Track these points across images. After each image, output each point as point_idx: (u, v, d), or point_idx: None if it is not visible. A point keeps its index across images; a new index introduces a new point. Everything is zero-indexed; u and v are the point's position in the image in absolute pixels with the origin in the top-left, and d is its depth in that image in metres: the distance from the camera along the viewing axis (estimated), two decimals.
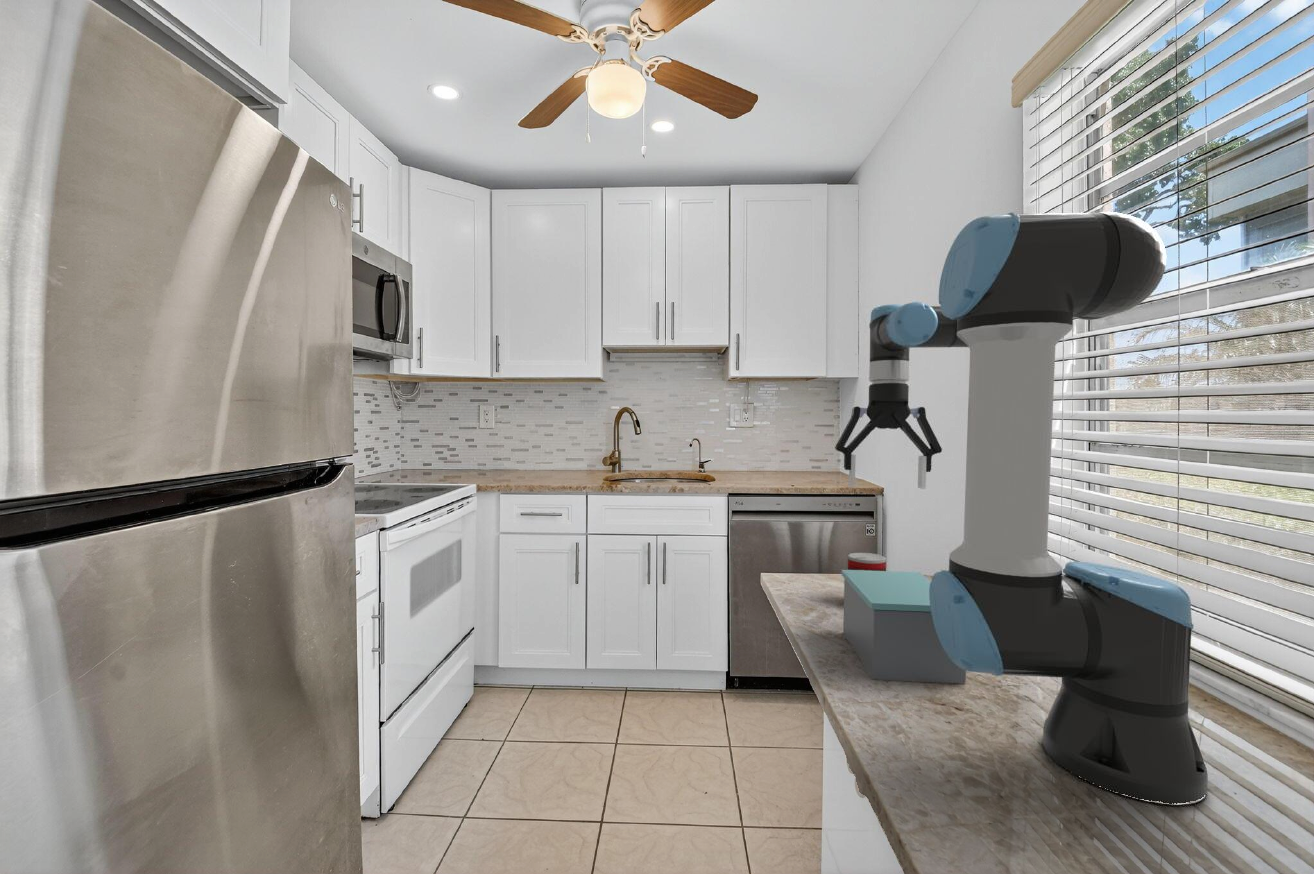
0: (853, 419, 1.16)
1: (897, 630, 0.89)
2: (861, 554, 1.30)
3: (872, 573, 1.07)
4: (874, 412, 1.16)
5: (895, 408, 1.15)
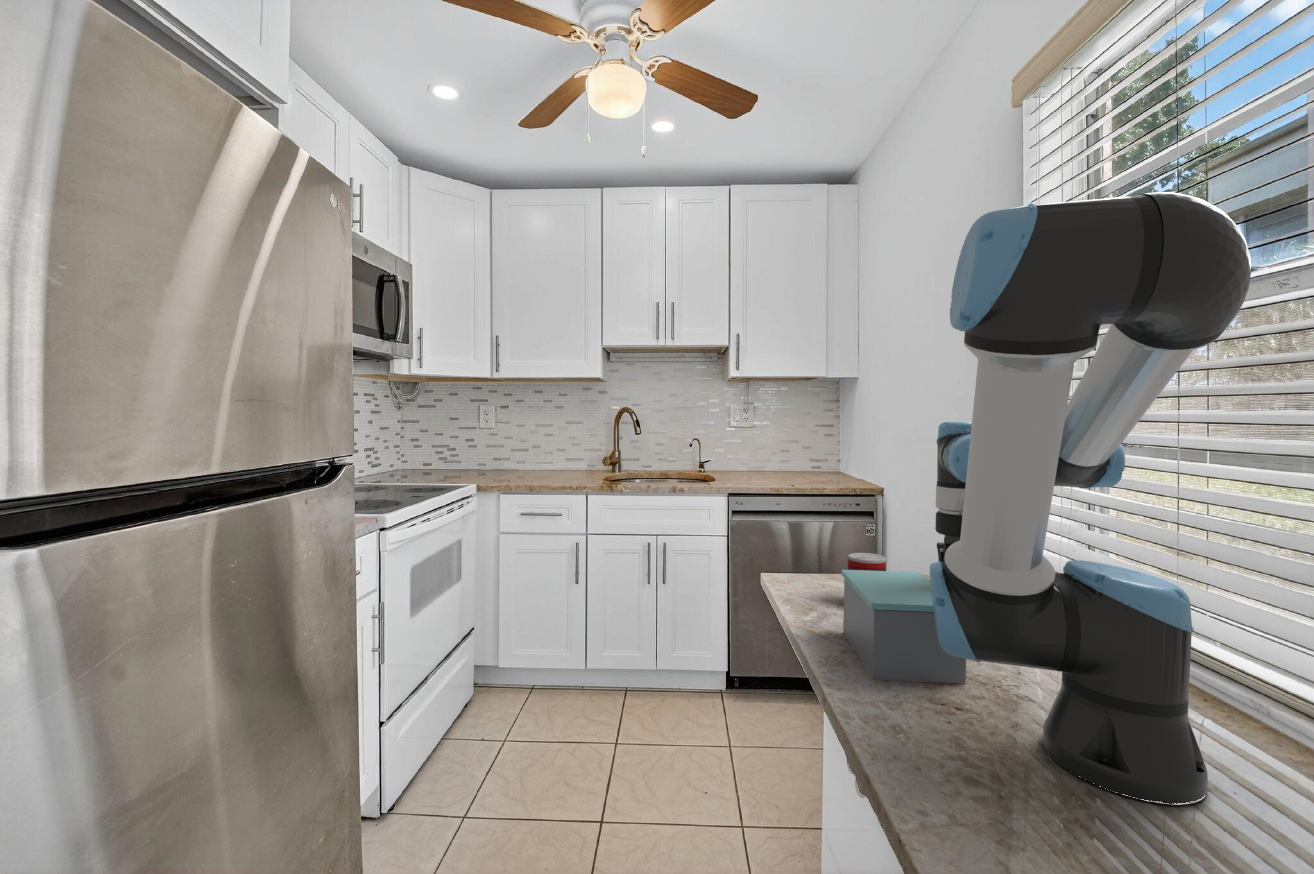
0: (938, 558, 1.03)
1: (897, 630, 0.89)
2: (861, 554, 1.29)
3: (872, 573, 1.07)
4: (946, 542, 1.01)
5: (957, 538, 0.96)
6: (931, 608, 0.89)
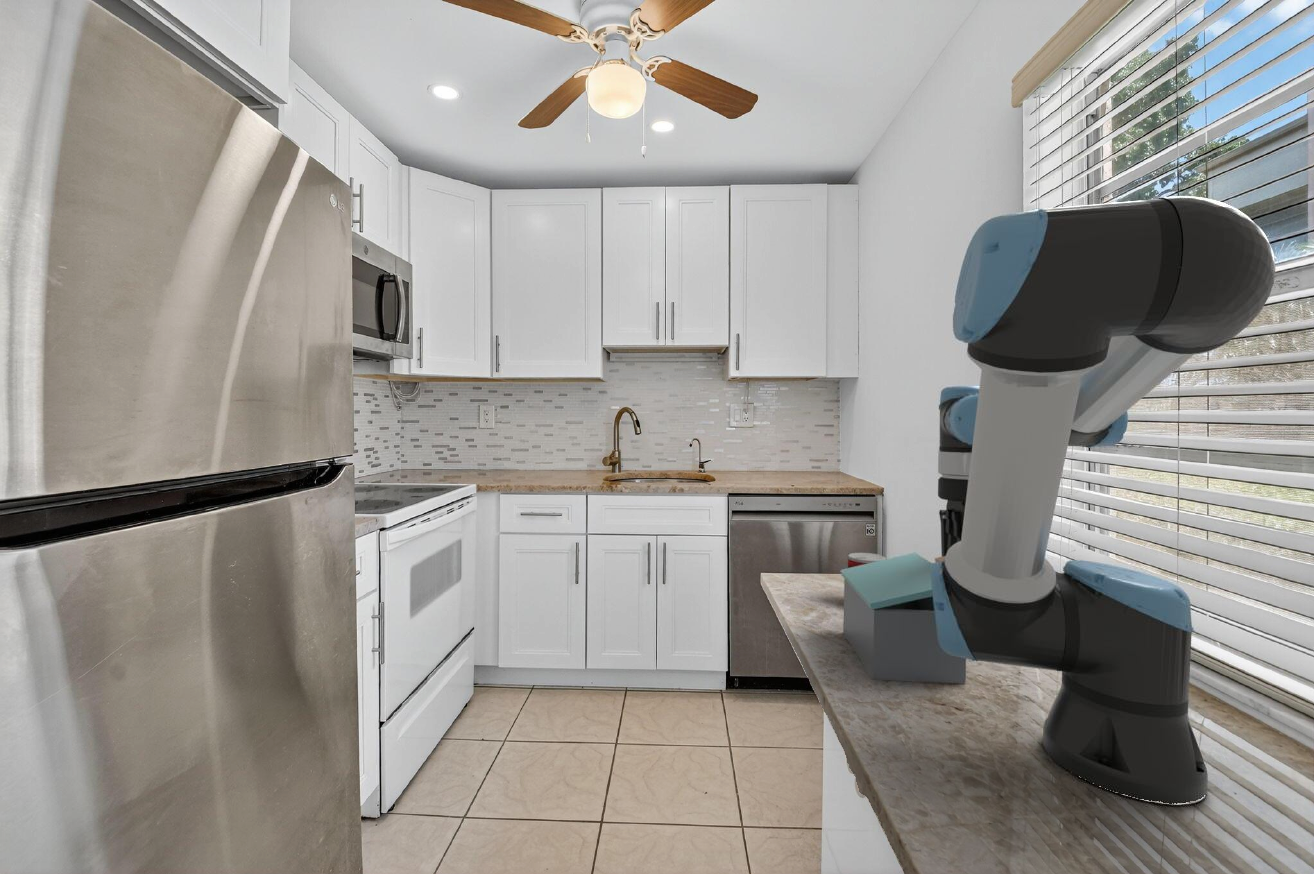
0: (941, 525, 1.03)
1: (897, 630, 0.89)
2: (861, 554, 1.30)
3: (870, 566, 1.07)
4: (948, 508, 1.01)
5: (960, 502, 0.96)
6: (928, 593, 0.89)
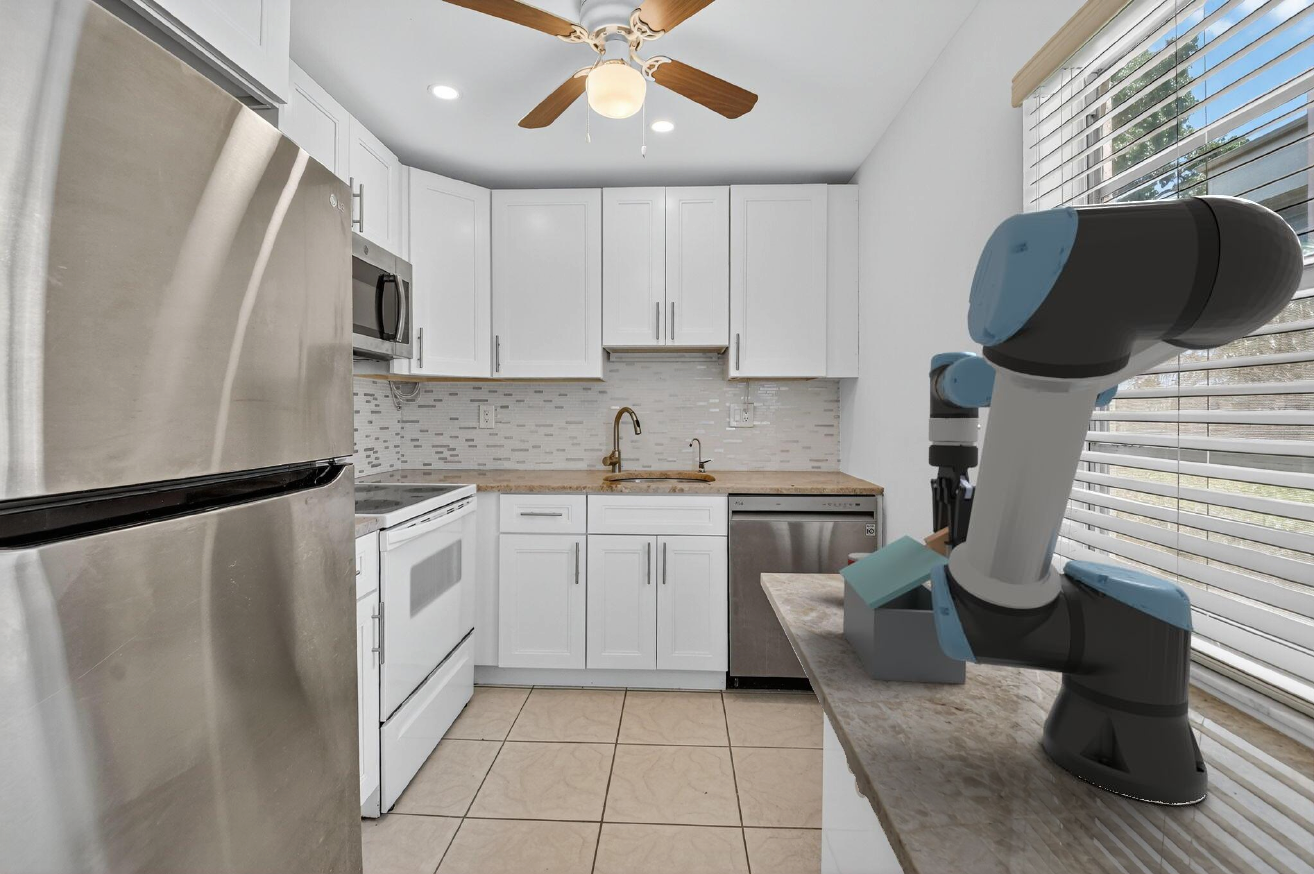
0: (932, 494, 1.03)
1: (897, 630, 0.89)
2: (861, 554, 1.30)
3: (866, 560, 1.07)
4: (939, 476, 1.01)
5: (950, 469, 0.96)
6: (922, 579, 0.89)
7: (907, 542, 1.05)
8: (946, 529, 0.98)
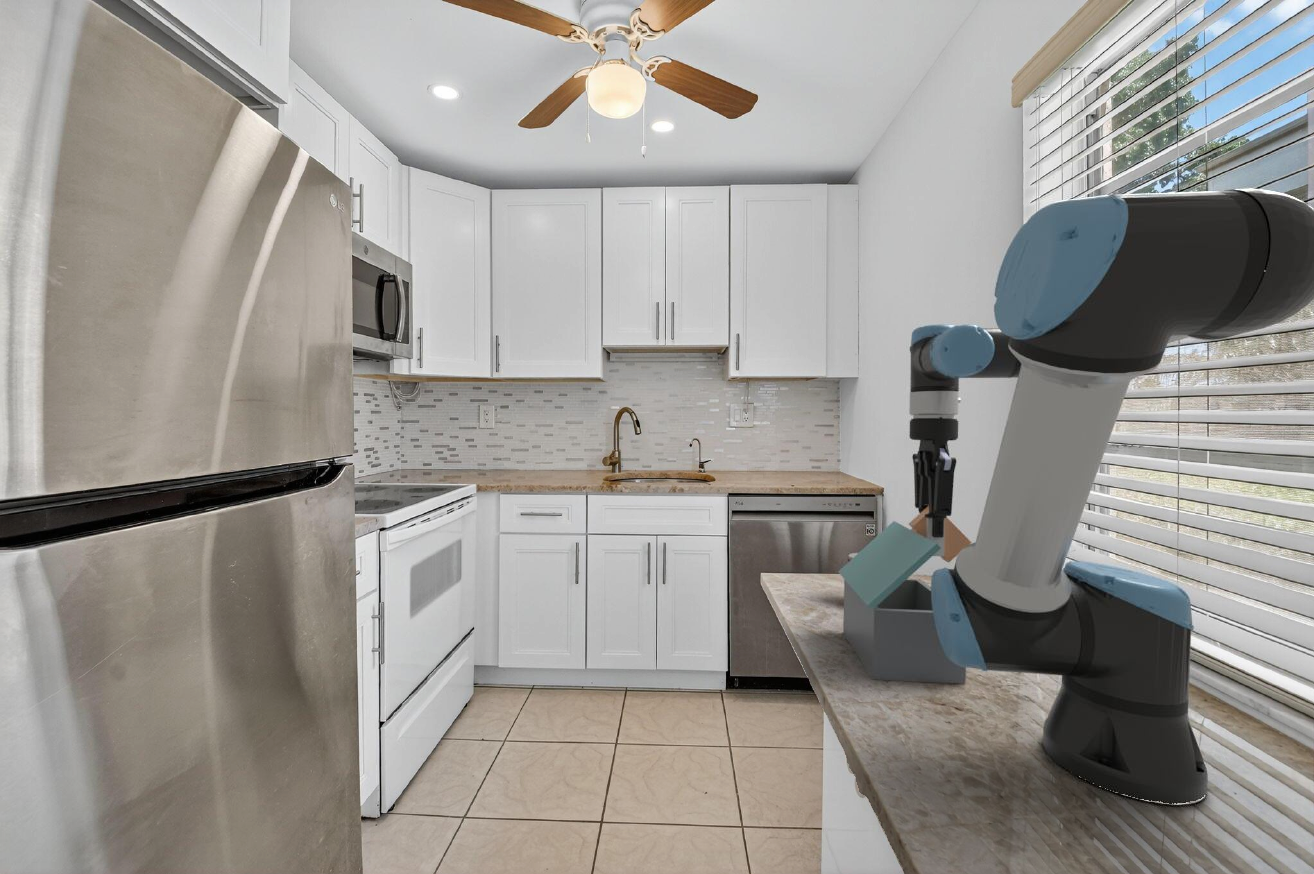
0: (914, 468, 1.03)
1: (897, 630, 0.89)
2: None
3: (861, 555, 1.07)
4: (920, 450, 1.01)
5: (930, 442, 0.96)
6: (912, 569, 0.89)
7: (895, 529, 1.05)
8: (927, 509, 0.98)
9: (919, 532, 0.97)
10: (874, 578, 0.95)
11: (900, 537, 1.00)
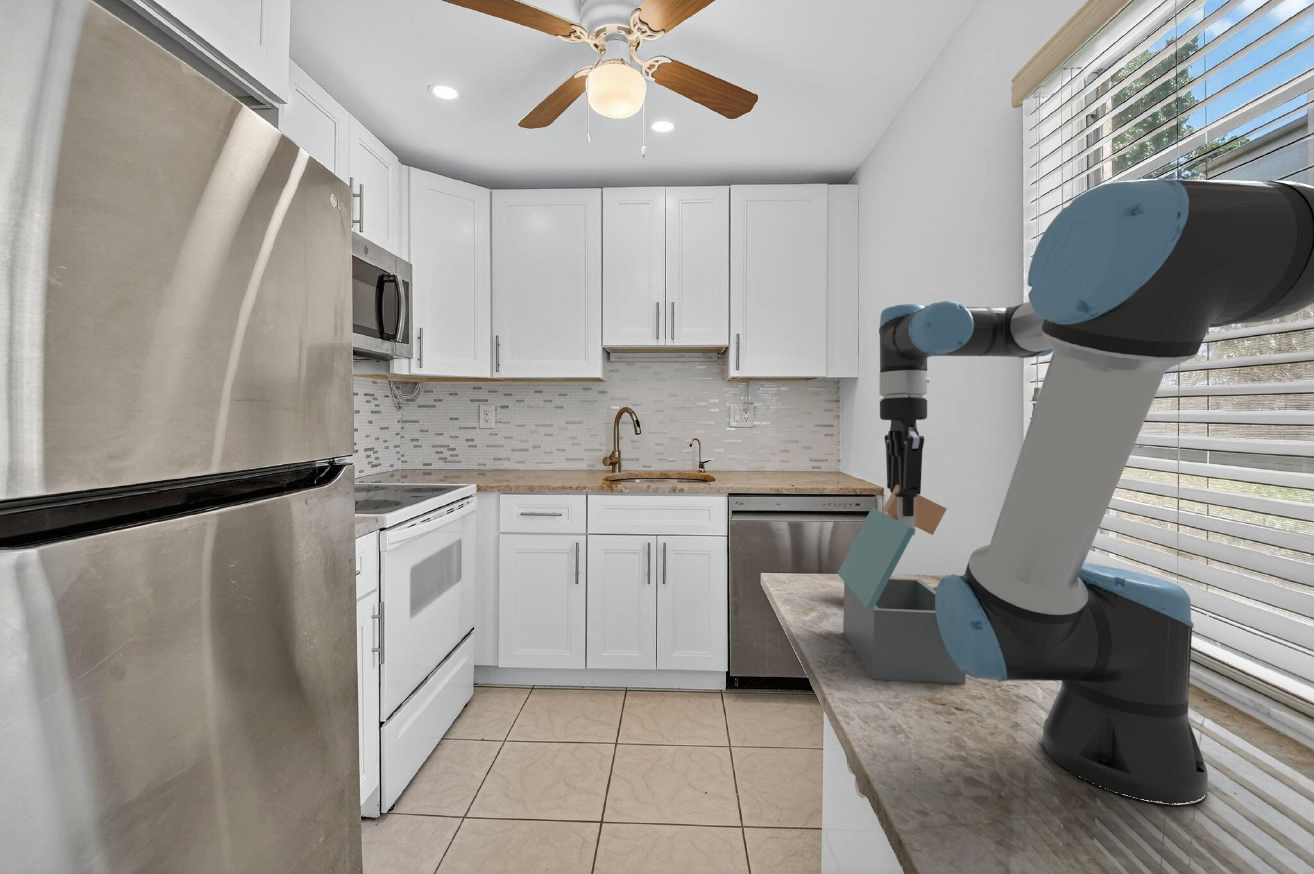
0: (886, 449, 1.04)
1: (897, 630, 0.89)
2: None
3: (852, 551, 1.08)
4: (891, 431, 1.01)
5: (899, 421, 0.97)
6: (896, 558, 0.89)
7: (874, 516, 1.05)
8: (895, 491, 0.99)
9: (894, 515, 0.98)
10: (867, 575, 0.95)
11: (880, 525, 1.01)
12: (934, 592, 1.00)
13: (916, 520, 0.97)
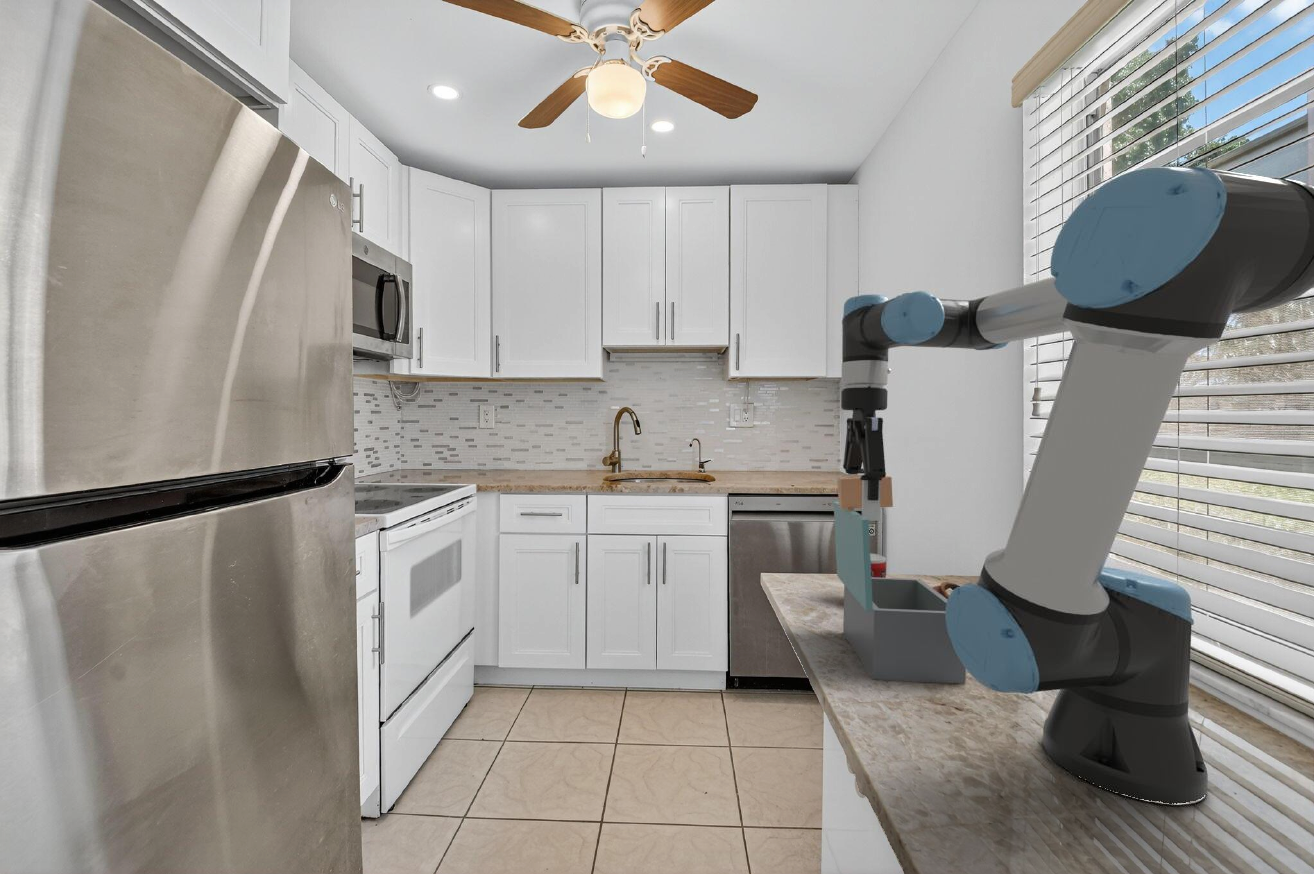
0: (847, 433, 1.06)
1: (897, 630, 0.89)
2: None
3: (838, 551, 1.08)
4: (853, 421, 1.02)
5: (859, 415, 0.98)
6: (866, 553, 0.89)
7: (838, 511, 1.06)
8: (839, 485, 1.00)
9: (850, 508, 0.98)
10: (855, 576, 0.96)
11: (844, 520, 1.01)
12: (934, 592, 1.00)
13: None
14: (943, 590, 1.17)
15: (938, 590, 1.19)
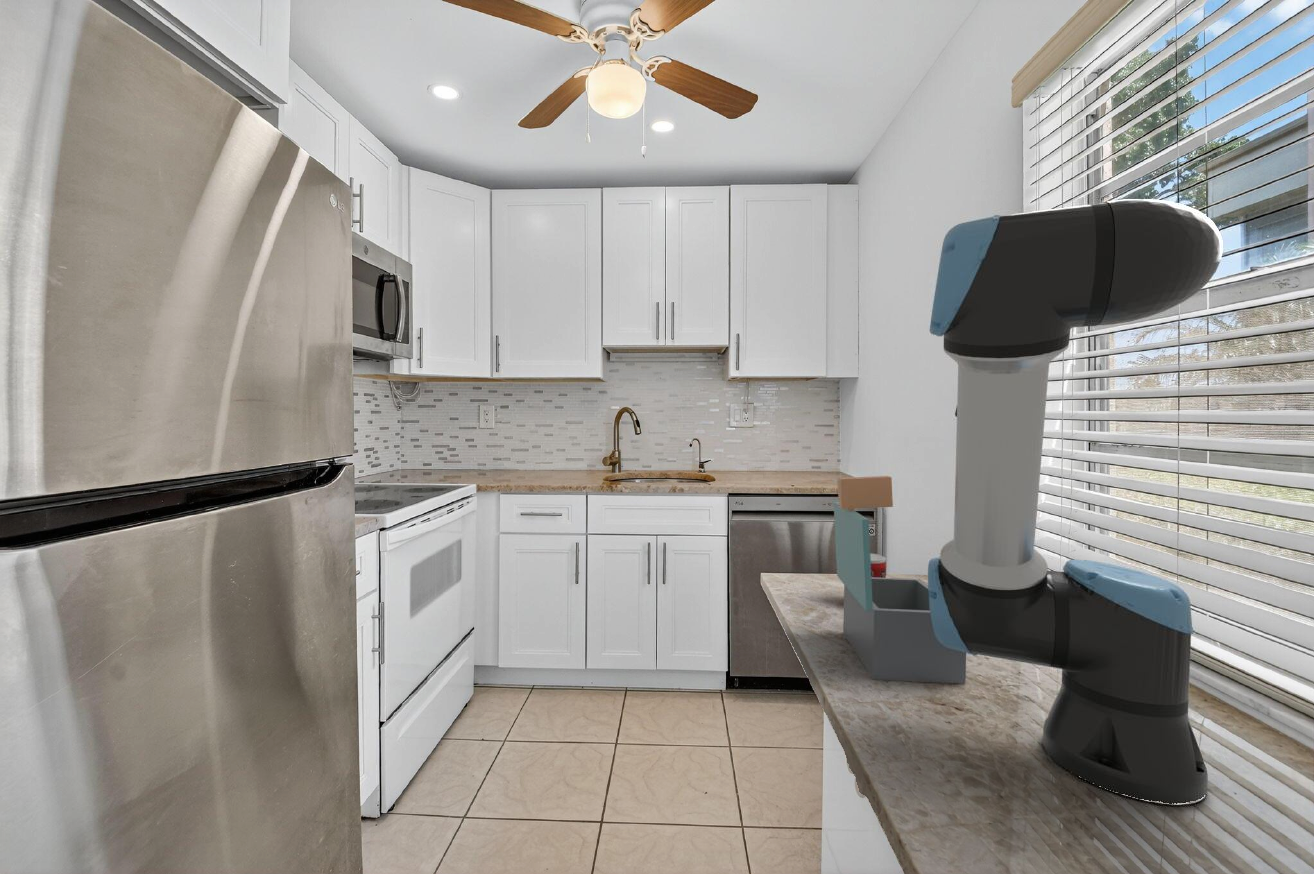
0: None
1: (897, 630, 0.89)
2: None
3: (838, 551, 1.08)
4: None
5: None
6: (866, 553, 0.89)
7: (838, 511, 1.06)
8: (839, 485, 1.00)
9: (850, 508, 0.98)
10: (855, 576, 0.96)
11: (844, 520, 1.01)
12: None
13: (871, 501, 0.98)
14: None
15: None
